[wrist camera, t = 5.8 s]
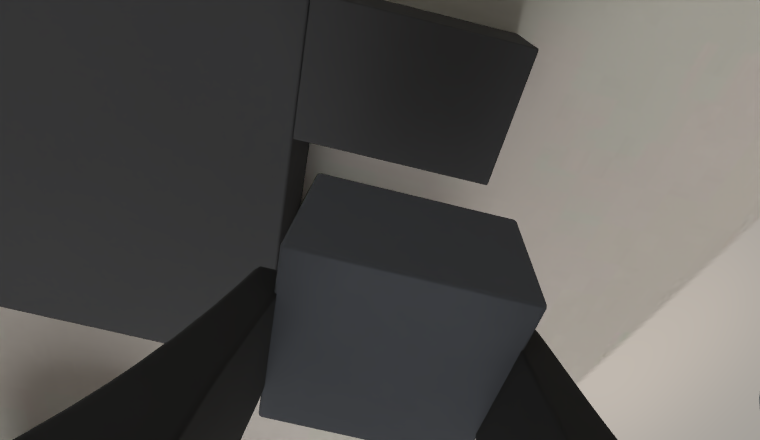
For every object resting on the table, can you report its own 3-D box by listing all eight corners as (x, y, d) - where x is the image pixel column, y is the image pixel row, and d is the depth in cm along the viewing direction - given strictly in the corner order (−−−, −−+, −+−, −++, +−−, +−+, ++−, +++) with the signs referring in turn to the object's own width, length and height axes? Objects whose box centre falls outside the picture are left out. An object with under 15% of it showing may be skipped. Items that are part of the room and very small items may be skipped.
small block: (516, 219, 10) (549, 307, 7) (455, 358, 12) (463, 463, 10) (317, 171, 10) (279, 243, 7) (293, 321, 12) (257, 417, 10)
